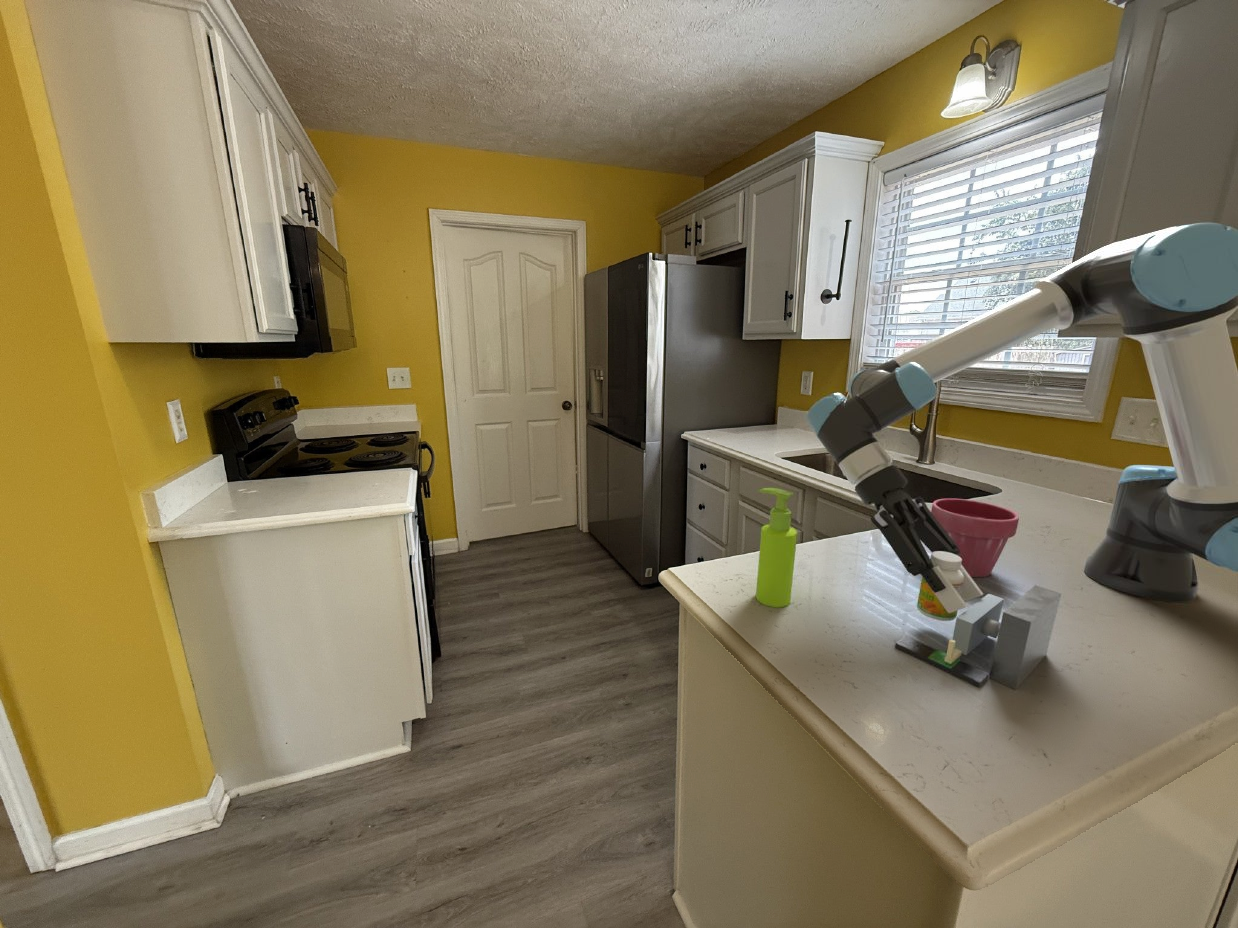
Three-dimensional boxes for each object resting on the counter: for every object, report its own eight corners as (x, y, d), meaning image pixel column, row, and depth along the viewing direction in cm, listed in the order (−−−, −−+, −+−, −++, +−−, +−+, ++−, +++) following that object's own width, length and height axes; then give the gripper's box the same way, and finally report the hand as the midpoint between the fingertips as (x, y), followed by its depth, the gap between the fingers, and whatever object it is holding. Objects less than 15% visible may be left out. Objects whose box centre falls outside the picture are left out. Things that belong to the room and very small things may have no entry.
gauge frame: (894, 647, 75) (904, 586, 73) (942, 613, 85) (952, 559, 82) (1006, 700, 64) (1021, 631, 62) (1046, 654, 74) (1061, 593, 71)
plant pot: (962, 550, 110) (972, 495, 107) (1025, 580, 97) (1039, 517, 94) (907, 556, 107) (916, 499, 104) (964, 587, 94) (976, 523, 91)
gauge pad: (939, 658, 71) (946, 625, 69) (982, 623, 80) (988, 593, 78) (967, 671, 68) (975, 637, 67) (1008, 633, 77) (1015, 602, 76)
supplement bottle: (909, 604, 82) (918, 549, 79) (940, 603, 82) (950, 548, 80) (931, 622, 76) (942, 564, 74) (964, 621, 77) (976, 563, 75)
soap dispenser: (761, 585, 94) (770, 483, 89) (796, 599, 89) (807, 491, 84) (744, 596, 90) (752, 489, 85) (779, 611, 85) (790, 499, 80)
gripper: (882, 478, 92) (967, 594, 84) (826, 495, 82) (917, 631, 73) (917, 456, 87) (1012, 577, 78) (862, 471, 76) (964, 614, 68)
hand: (966, 603), depth 76 cm, fingers closed on supplement bottle, 5 cm apart
